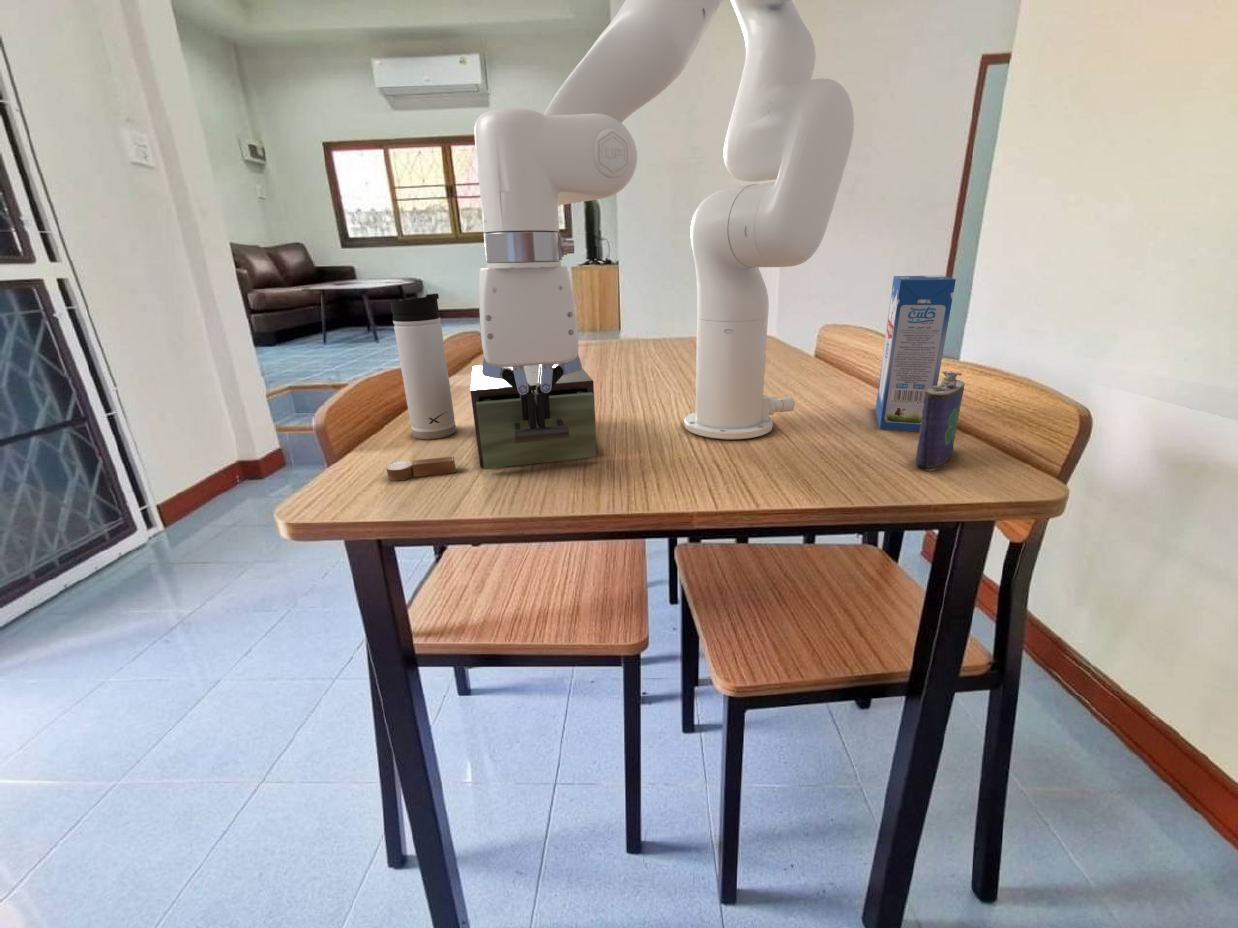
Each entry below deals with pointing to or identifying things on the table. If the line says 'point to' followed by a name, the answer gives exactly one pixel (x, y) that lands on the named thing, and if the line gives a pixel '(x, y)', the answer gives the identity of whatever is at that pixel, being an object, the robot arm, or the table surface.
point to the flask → (939, 423)
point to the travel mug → (424, 366)
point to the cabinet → (496, 387)
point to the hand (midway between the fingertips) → (536, 425)
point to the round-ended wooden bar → (420, 468)
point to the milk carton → (912, 348)
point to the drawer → (537, 430)
